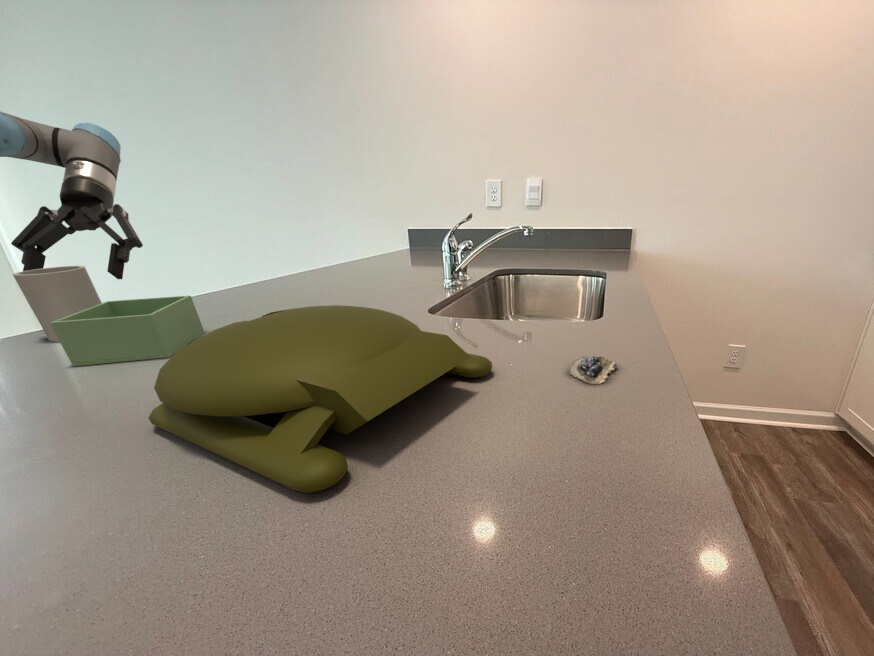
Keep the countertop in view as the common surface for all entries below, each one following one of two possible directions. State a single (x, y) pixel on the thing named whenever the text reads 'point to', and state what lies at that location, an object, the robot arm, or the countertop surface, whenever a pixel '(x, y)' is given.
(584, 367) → the blueberries
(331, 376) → the spaceship
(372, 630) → the countertop surface
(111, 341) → the bin
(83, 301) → the cup
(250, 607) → the countertop surface
